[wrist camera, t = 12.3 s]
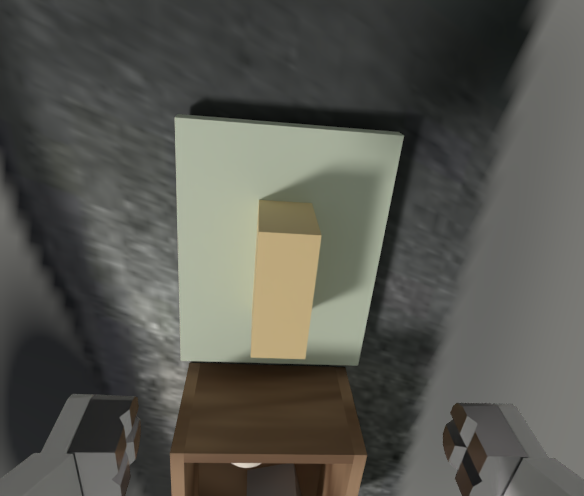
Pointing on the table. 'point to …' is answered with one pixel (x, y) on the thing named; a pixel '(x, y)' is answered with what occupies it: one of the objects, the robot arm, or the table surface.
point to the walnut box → (266, 429)
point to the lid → (279, 237)
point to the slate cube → (273, 481)
